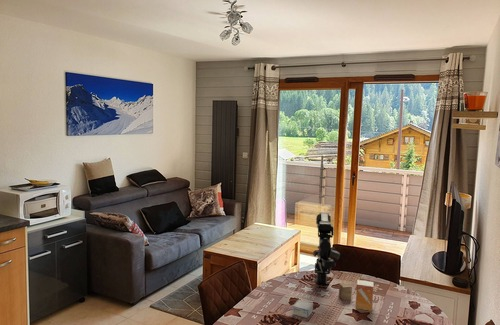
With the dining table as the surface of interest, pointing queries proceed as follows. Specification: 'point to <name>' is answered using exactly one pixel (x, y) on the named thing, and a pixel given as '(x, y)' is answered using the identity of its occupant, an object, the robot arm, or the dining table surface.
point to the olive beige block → (345, 291)
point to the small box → (364, 295)
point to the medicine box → (302, 308)
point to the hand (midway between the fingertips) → (323, 273)
